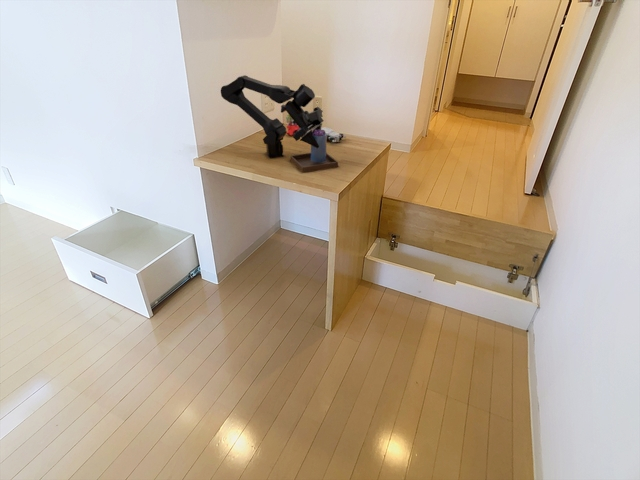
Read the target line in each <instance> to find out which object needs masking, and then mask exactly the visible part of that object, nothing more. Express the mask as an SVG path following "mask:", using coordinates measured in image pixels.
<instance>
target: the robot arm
mask: <svg viewBox="0 0 640 480" xmlns="http://www.w3.org/2000/svg"><path fill="white" fill-rule="evenodd" d="M245 89H247V90H250V91H253V92H255V93H259V94H261V95H264V96H266V97H268V98H269V99H270V100H271V101H273V102H275V103H277V104H280V105H281V104H282V105H281V106H280V113H281V114H282V113H284V112H286V113H287V115H290V116H291V118H292V119H293V120H294V121H293V124H295V123H296V124H297V126H298V127H299V128H300V129H299V130H297V131H296V132H295V133H294V134H293V136H292V137H293V139H294V140H295V141H296V142H298V141H299V142H303V143H306V144H308V145H310V146H311V145H312V146H314V147H316V148H318V147H319V145H318V143H317V142H316V140H315V139H314V137H313V135H312V131H313V130H314V129H316V130H318V129H320V130H321V128H323V126H322V125H323V122H324V121H325V120H324V119H323V117H324V115H323V110H322V108H320V107H319V106H316V107H314V108H313V111H311V112H309V111H308V110H304V109H303V108H305V107H307V106H309V104H310V103H311V102H312V101H313V100H314V99H315V98H316V95H315V92H314V90H313V89H312V88H310V87H309V86H307V85H306V84H305V83H302V84H301V85H299V87H298V88H297V89H296V90H294V89H290V87H289V86H287V85H281V84H271V83H268V82H264V81H262V80H258V79H255V78H253V77H250V76H248V75H246V74H245V75H244V74H243V75H240V76H238V77H237V78H236V79H234V80H233V81H231V82H230V83H228V84H226V85H225V84H224V85H223V86H221V87H220V97H222V99H224V100H225V101H226V102H228V103H230V104H231V105H235V106H237V107H239V109H241V110H242V111H243V112H244V113H245V114H246V115H248V116H249V117H250V118H251V119H252V120H253V121H254V122H256V123H257V124H258V125H259V126H261V127H262V130H263V132H264V134H265V136H264V137H263V139H262V141H263V144H264V145H265V146H266V147H265V148H266V152H265V155H266V156H267V157H268V158H269V159H276V158H283V157H284V144H283V143H282V141H283V140H284V137H285V136H286V135H287V133H286V132H287V127H286V126H285V124H284V122H281V121H280V120H279V118H274V119H272V118H270V117H269V116H268V115H267V114H266V113H264V112H263V111H262V110H261V109H260V108H259V107H258V106H256V105H255V104H254V103H253V102H252V101H250V100H249V99H248V98H247V97H246V96H245V94H244V90H245ZM284 103H285V104H284Z"/></svg>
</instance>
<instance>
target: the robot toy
mask: <svg viewBox="0 0 640 480" xmlns="http://www.w3.org/2000/svg"><path fill="white" fill-rule="evenodd" d="M321 130H325V133H327V140H329V142H330V143H332V144H333V143H337V142H341V141H342V139H343V138H344V139H345V138H346V139H347V135H346V134H344V133H339V132H337V131H334V130H333V129H332V128H329V127H327V126H324V127H323V126H322V127H321Z"/></svg>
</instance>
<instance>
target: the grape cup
mask: <svg viewBox="0 0 640 480" xmlns="http://www.w3.org/2000/svg"><path fill="white" fill-rule="evenodd" d="M312 135H313V137H314V139H315V140H316V142H317V143H318V145H319V147H318V148H316V147H314V146H312V145H310V153H311V161H313V162H324V161H325V160H326V153H327V141H328V139H327V133H325V130H320V129H318V130H316V129H314V130H313V131H312Z"/></svg>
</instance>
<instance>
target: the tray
mask: <svg viewBox="0 0 640 480" xmlns="http://www.w3.org/2000/svg"><path fill="white" fill-rule="evenodd" d="M289 161H290V162H291V163H292V164H293V165H294V166H295V167H296V168H297V169H298V170H299V171H300V172H301V173H308V172H316V171H322V170H326V169H334V168H339V161H338V160H337V159H335V158H334V157H333V156H331V155H330V154H329V153H328V152H326V160H325V161H324V162H313V161H311V152H307V153H300V154H293V155H292V154H291V155H290V156H289Z"/></svg>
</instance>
